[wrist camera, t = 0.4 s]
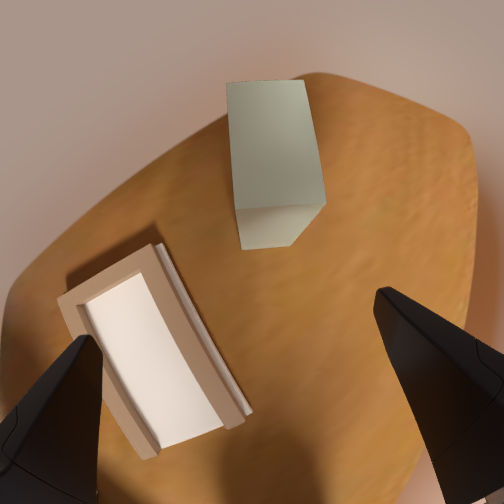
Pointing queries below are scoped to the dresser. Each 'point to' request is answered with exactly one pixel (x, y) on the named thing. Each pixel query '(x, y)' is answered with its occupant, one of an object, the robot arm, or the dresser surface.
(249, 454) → the dresser surface
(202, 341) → the track
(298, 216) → the door panel
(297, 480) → the dresser surface
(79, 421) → the robot arm
